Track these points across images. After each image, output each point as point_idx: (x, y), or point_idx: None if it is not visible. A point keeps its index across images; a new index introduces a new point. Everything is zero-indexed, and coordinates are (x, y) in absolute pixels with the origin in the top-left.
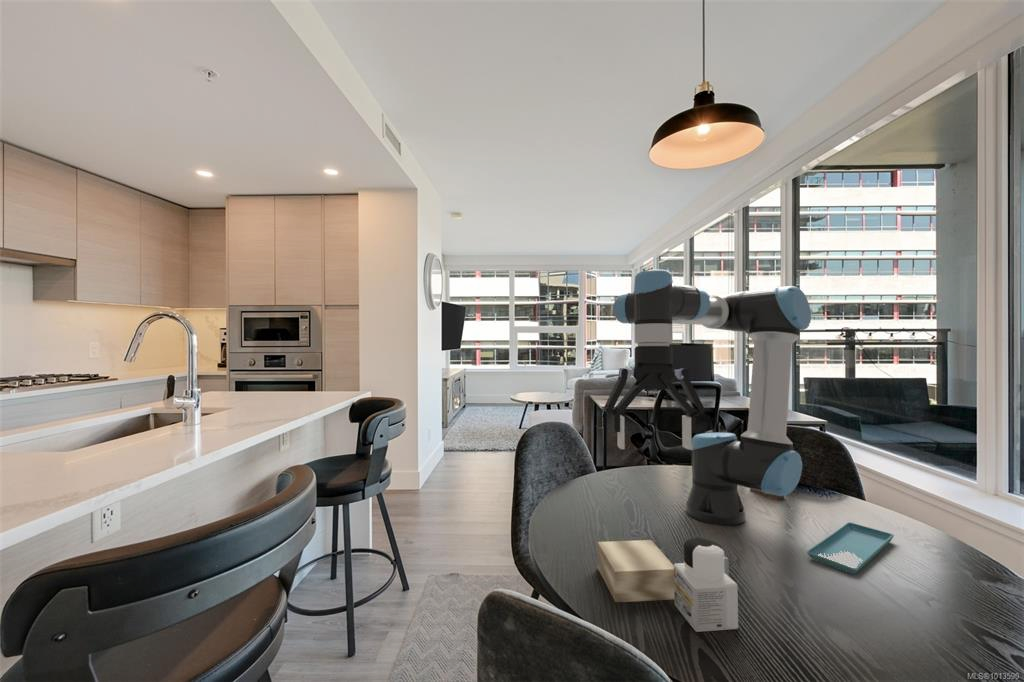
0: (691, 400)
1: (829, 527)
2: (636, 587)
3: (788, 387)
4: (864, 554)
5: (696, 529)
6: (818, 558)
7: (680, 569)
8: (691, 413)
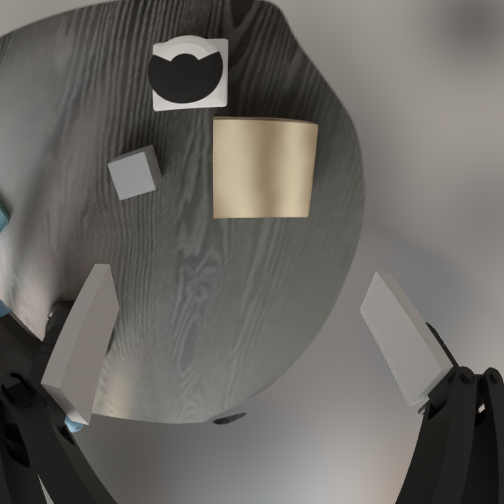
0: (25, 480)
1: None
2: (278, 119)
3: None
4: None
5: None
6: (3, 211)
7: (224, 85)
8: (33, 404)
